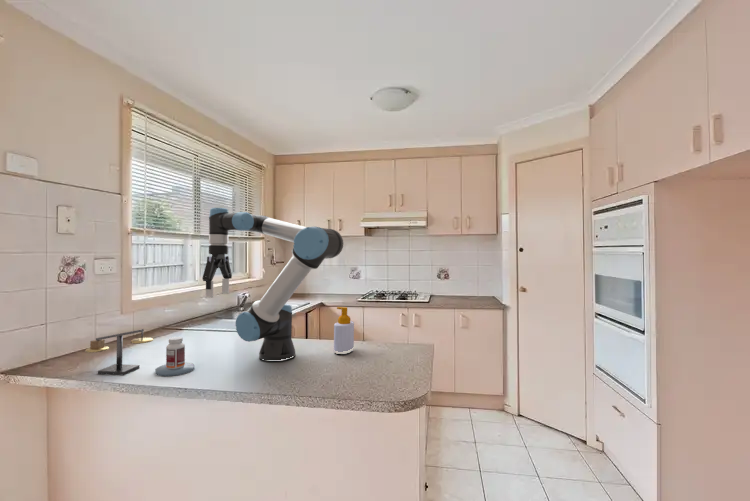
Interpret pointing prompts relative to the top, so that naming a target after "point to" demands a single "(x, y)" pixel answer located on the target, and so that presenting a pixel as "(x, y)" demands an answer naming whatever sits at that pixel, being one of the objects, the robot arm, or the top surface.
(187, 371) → the dish
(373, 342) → the top surface
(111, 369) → the balance
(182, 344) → the pill bottle
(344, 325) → the soap bottle
